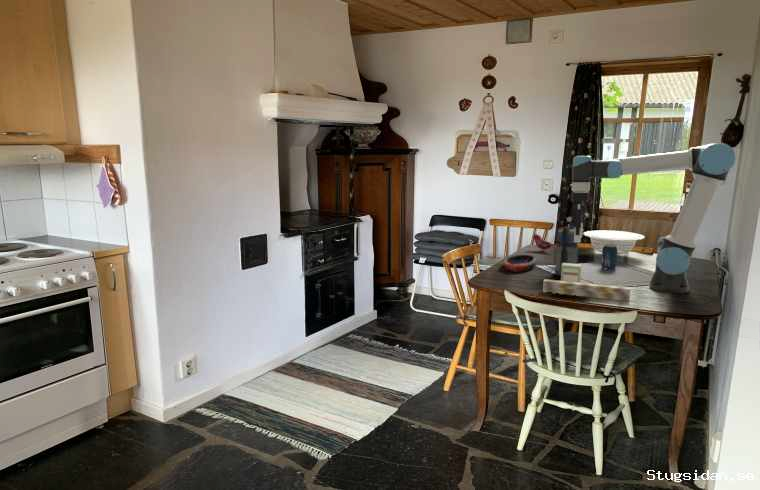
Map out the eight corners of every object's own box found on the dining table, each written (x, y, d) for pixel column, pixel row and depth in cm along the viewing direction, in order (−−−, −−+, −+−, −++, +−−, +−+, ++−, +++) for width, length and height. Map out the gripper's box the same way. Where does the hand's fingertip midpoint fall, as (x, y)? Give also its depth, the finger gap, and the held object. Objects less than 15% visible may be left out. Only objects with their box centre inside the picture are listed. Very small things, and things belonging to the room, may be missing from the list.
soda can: (613, 267, 272) (615, 244, 270) (617, 270, 265) (619, 246, 263) (599, 266, 273) (601, 244, 270) (603, 269, 266) (605, 246, 264)
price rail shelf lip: (629, 299, 217) (630, 287, 216) (629, 301, 213) (630, 289, 212) (543, 290, 231) (544, 279, 230) (542, 292, 227) (543, 281, 226)
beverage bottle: (550, 276, 255) (553, 225, 250) (558, 270, 265) (561, 221, 260) (572, 279, 249) (575, 227, 244) (579, 273, 260) (582, 223, 255)
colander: (652, 256, 295) (654, 234, 292) (629, 266, 273) (631, 242, 271) (596, 248, 318) (597, 228, 315) (571, 256, 296) (572, 234, 294)
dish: (542, 263, 282) (543, 254, 281) (524, 275, 256) (525, 265, 255) (514, 260, 290) (514, 251, 289) (494, 271, 265) (494, 262, 264)
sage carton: (580, 285, 238) (581, 264, 236) (579, 288, 233) (580, 266, 231) (561, 283, 241) (562, 262, 239) (560, 286, 236) (561, 265, 234)
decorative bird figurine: (533, 249, 317) (534, 233, 315) (559, 254, 303) (560, 237, 301) (530, 250, 315) (531, 233, 313) (557, 254, 302) (558, 237, 300)
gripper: (573, 189, 242) (571, 234, 245) (569, 194, 219) (566, 244, 223) (590, 189, 239) (588, 235, 243) (588, 194, 216) (585, 245, 220)
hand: (578, 239), depth 233 cm, fingers open, 13 cm apart
